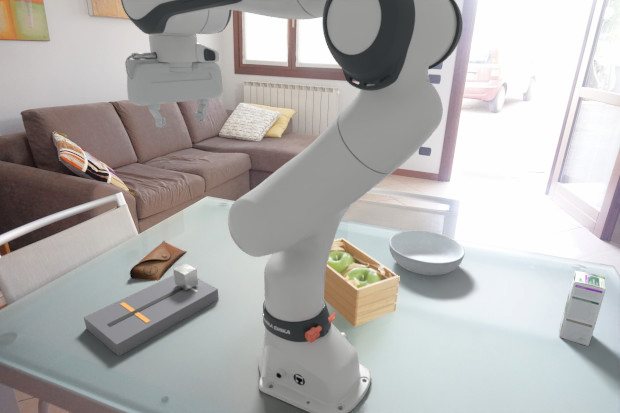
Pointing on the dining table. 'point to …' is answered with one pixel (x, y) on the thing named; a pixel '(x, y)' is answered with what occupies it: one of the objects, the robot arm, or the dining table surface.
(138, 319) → the fader console
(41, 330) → the dining table surface
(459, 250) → the serving bowl
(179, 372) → the dining table surface
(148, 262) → the sunglasses case
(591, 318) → the syrup box
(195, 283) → the fader tab
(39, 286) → the dining table surface
